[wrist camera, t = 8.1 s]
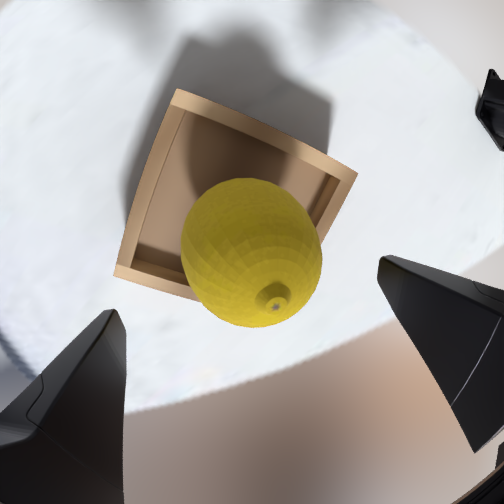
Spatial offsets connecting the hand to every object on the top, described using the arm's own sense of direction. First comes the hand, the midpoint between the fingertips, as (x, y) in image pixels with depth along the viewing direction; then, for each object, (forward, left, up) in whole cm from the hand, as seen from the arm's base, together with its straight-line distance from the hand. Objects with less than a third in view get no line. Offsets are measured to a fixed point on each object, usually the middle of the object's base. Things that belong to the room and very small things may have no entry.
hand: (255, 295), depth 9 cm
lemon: (0, 0, -8) cm, 8 cm away
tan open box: (0, 0, -10) cm, 10 cm away
